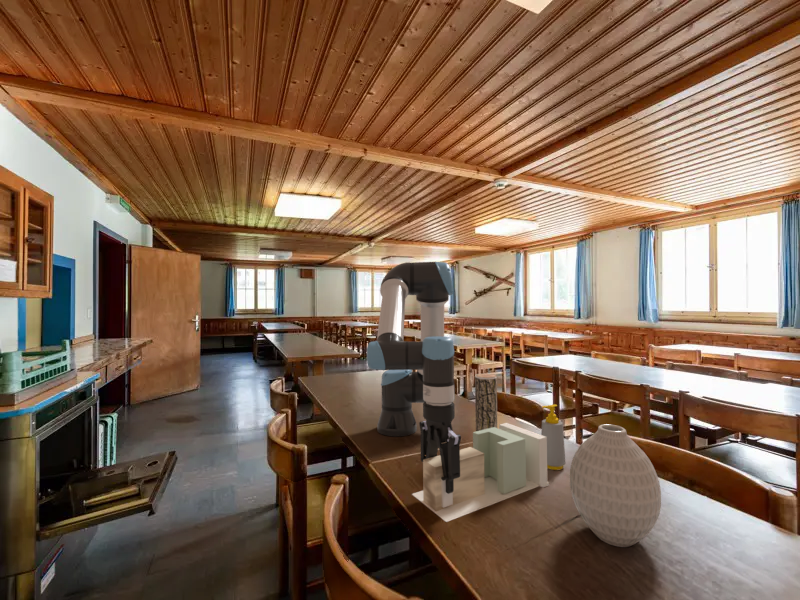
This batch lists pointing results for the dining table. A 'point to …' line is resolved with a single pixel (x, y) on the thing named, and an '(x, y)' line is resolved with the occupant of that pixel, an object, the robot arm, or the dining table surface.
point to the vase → (615, 487)
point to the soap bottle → (554, 440)
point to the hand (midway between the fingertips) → (439, 499)
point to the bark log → (485, 401)
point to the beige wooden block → (464, 486)
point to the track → (534, 478)
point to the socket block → (502, 457)
